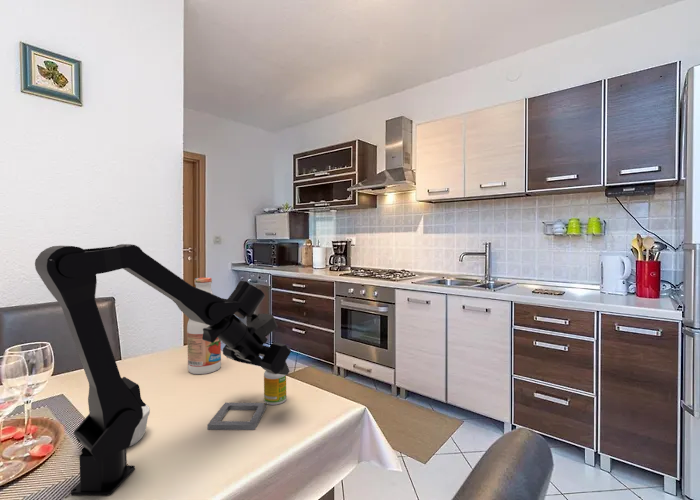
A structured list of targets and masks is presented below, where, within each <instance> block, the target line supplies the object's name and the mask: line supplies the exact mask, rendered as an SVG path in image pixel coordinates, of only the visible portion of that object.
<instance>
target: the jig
mask: <svg viewBox="0 0 700 500" xmlns="http://www.w3.org/2000/svg"><path fill="white" fill-rule="evenodd" d="M267 408H268V404H267V403H265V402H224V403H223V405H222V406H221V407H220V408H219V410H218V411H217V412H216V413H215V414H214V416H213V417H212V418H211V420H209V422H208V423H207V424H206V425H207V427H206V428H207V430H213V431H215V430H218V431H220V430H226V431H227V430H229V431H230V430H232V431H234V430H235V431H236V430H237V431H239V430H240V431H242V430H243V431H252V430H253V431H255V430H256V429H257V426H258V425H259V423H260V421H261V419H262V417H263V415H264V413H265V411H266V410H267ZM229 411H255V412H254V413H253V416H252V417H251V419H250V420H249V421H248V420H247V421H245V420H244V421H243V420H242V421H241V420H240V421H237V420H235V421H234V420H233V421H232V420H230V421H229V420H227V421H226V420H225V421H224V420H223V418H225V416H226V415H227V414H228V412H229Z"/></svg>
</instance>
